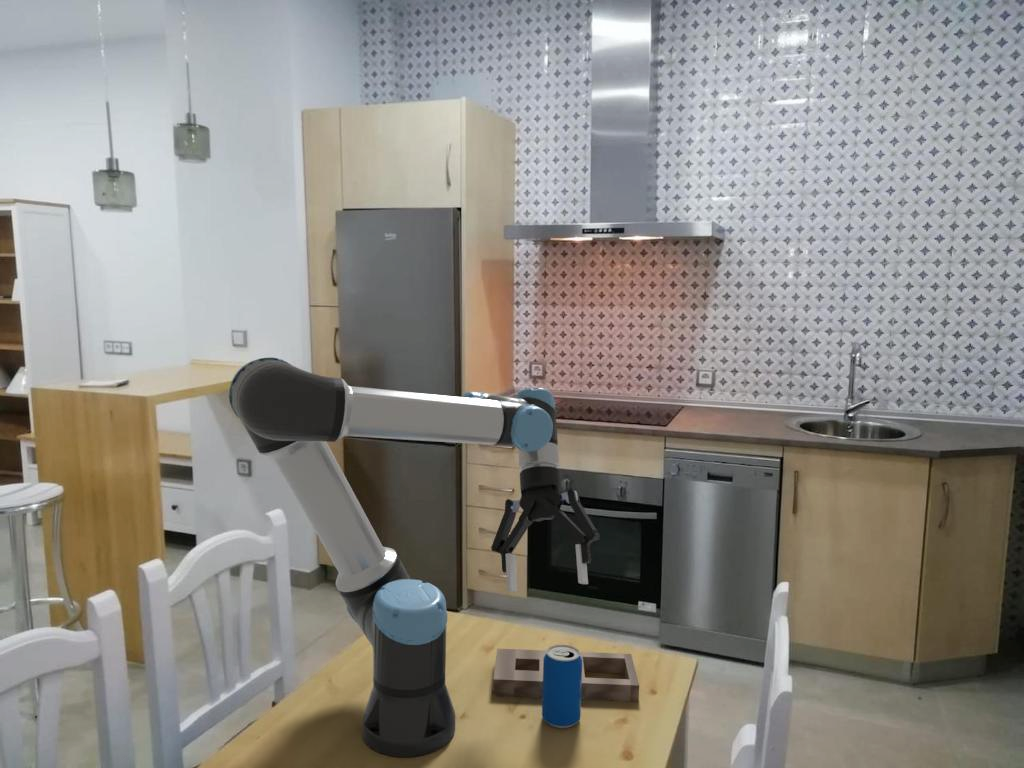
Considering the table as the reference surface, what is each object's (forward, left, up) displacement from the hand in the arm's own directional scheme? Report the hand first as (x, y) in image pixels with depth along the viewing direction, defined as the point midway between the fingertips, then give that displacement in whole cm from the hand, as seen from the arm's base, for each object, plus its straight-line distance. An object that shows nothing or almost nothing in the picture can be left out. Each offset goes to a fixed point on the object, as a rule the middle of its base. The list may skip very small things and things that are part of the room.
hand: (547, 587), depth 130 cm
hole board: (+4, +7, -21) cm, 22 cm away
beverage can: (+3, -6, -21) cm, 22 cm away
